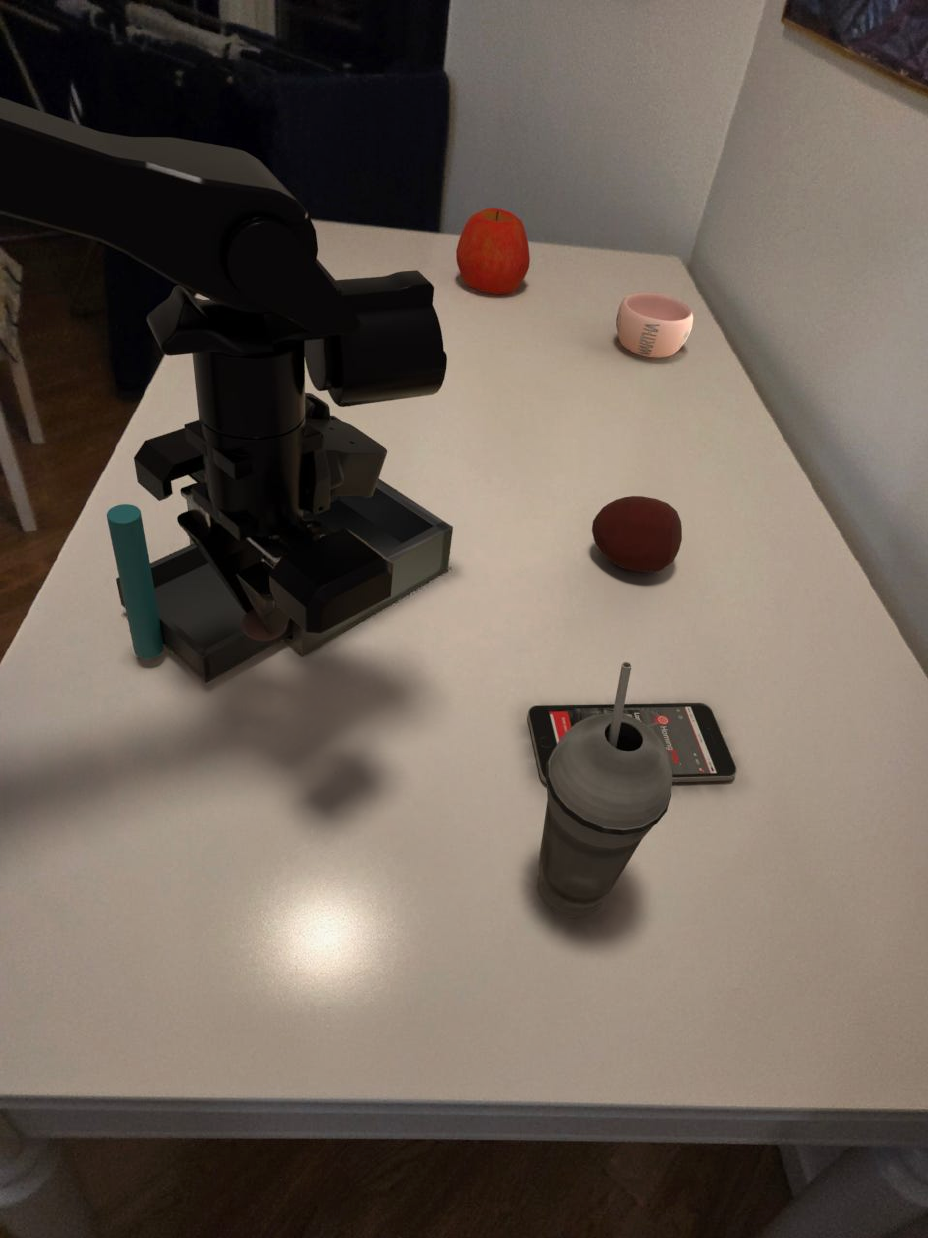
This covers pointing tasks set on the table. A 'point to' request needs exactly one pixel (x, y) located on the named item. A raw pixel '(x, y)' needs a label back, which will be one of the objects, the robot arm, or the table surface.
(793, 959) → the table surface
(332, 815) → the table surface
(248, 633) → the chocolate truffle
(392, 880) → the table surface
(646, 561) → the potato
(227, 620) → the black compartment tray
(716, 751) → the smartphone
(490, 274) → the apple
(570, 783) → the beverage cup
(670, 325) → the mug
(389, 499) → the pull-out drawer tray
